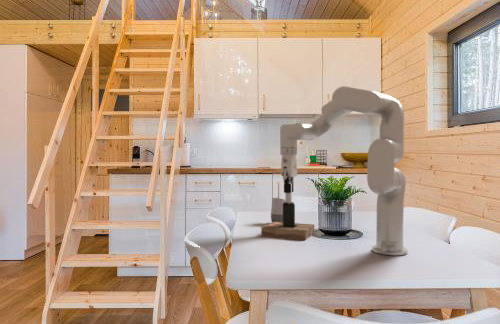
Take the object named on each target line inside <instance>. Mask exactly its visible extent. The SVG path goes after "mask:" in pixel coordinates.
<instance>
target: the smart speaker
mask: <svg viewBox="0 0 500 324" xmlns="http://www.w3.org/2000/svg"><path fill="white" fill-rule="evenodd" d="M284 202H285V198H280V197H279V198H278V197H272V199H271V210H270V220H271V223H272V222H283V203H284Z"/></svg>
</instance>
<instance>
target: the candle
mask: <svg viewBox="0 0 500 324" xmlns="http://www.w3.org/2000/svg"><path fill="white" fill-rule="evenodd" d="M288 180H289V178H288ZM290 184H291V182H290ZM284 195H285V198H284V199H285V202H284V203H283V227H288V228H294V227H295V223H296V215H295V214H296V212H295V211H296V208H295V207H296V205H295V203H294V202H293V192H292V184H291V193H284Z"/></svg>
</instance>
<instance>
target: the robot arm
mask: <svg viewBox="0 0 500 324" xmlns="http://www.w3.org/2000/svg"><path fill="white" fill-rule="evenodd" d="M331 96H332V97H331V100H330V101H329V102H327V103H326V104H324V105H323V106H321V109H320V110H321V116H319V117H318V118H317V119H315V120H314V121H312V122H310V123H308V122H307V123H306V122H295V123H292V124H291V123H286V124H285V123H284V124H282V125H280V127H279V135H280V136H279V137H280V138H279V139H280V140H279V141H280V142H279V143H280V144H279V151H280V156H281V163H280V167H281V168H280V174H281V176H282V180H283V193H284V194H285V193H291V184H292V193H294V178H296V177H297V176H298V165H297V163H298V162H297V155H298V141H313V140H316V139H319V137H321V136H323V135H324V134H326V133H327V132H328V131H330V130H331V128H333V126H334V124H335V123H337V122H338V121H340V120H341V119H343V118H345V117H346V116H348V115H349V114H351V113H353V112H356V113H361V114H366V115H369V116H370V115H371V116H375V117H376V116H377V117H380V119H381V120H380V125H379V138H377V139H375V140H373V141H372V143H371V144H370V145H369V147H368V150H367V151H368V152H367V170H366V171H367V172H366V175H367V176H366V179H367V180H366V181H367V186H368V188H369V189H370V191H371V192H373V193H374V194H376V195H377V198H376V220H375V221H376V226H375V227H376V232H375V233H376V235H375V237H376V239H375V241H376V243H375V245H373V246H372V247H371V251H372V252H374V253H376V254H380V255H385V256H405V255H407V254H408V248H406V247H404V209H405V207H404V205H405V203H404V202H405V192H406V177H405V175H404V173H403V171H401V170H400V169H398V168H396V167H395V164H398V162H400V161H401V160H402V159H403V156H404V151H405V150H404V147H405V146H404V142H405V141H404V139H405V111H404V107H403V106H402V104H401V103H400V101H399V100H398V99H396V98H394V97H392V96H390V95H388V94H385V93H381V92H378V91H373V90H370V89H369V90H368V89H362V88H355V87H352V86H346V85H345V86H340V87H338V88H336V89H335V90H334V92H332V95H331ZM288 178H289V180H288ZM290 182H291V184H290Z"/></svg>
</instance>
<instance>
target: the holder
mask: <svg viewBox="0 0 500 324" xmlns="http://www.w3.org/2000/svg"><path fill="white" fill-rule="evenodd" d="M260 229H261V232H260V233H261V234H260V235H261V237H265V238H274V239H275V238H276V239H287V240H298V241H306V240H308V239H309V238H310V237H312V234H313V233H314V234H315V224H311V223H299V222H295V227H294V228H288V227H283V222H272V221H271V222H270V223H267V224H265V225H263V226H261V227H260ZM314 234H313V235H314Z"/></svg>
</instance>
